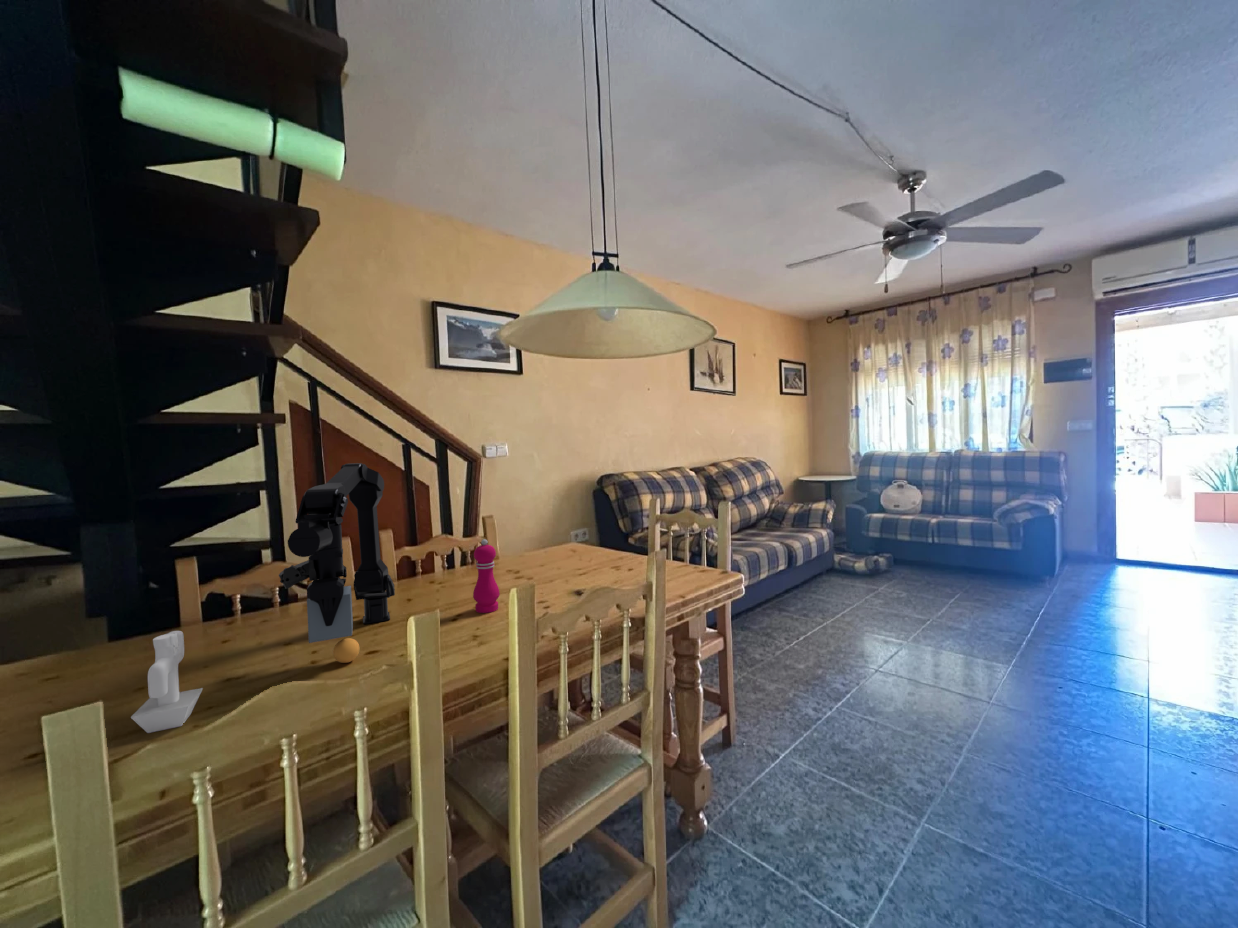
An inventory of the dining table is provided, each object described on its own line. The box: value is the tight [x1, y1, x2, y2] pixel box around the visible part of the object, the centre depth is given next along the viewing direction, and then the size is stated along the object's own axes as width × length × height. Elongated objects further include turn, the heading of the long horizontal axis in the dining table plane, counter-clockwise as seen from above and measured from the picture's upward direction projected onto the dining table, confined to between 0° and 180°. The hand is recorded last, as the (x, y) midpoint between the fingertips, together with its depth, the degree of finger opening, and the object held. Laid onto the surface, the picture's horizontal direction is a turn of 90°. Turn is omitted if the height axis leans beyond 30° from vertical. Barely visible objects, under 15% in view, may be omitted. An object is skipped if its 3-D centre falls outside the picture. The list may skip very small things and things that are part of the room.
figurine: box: [130, 630, 204, 734], centre depth 83 cm, size 7×9×15 cm
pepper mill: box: [472, 538, 500, 614], centre depth 140 cm, size 7×7×20 cm
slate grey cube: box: [306, 585, 354, 644], centre depth 105 cm, size 8×8×9 cm
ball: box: [332, 637, 360, 664], centre depth 107 cm, size 5×5×5 cm
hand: (330, 619), depth 105 cm, fingers closed on slate grey cube, 8 cm apart
